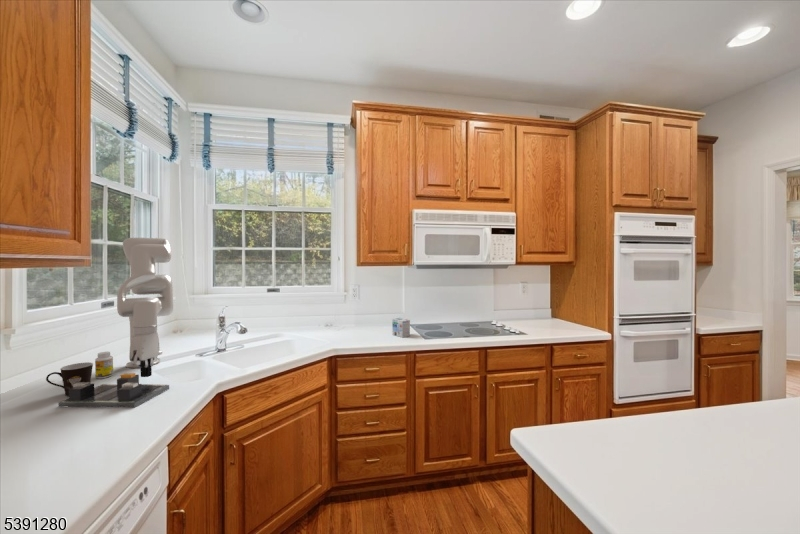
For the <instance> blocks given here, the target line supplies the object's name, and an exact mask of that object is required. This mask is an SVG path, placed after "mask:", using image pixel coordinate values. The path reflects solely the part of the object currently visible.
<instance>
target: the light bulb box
mask: <svg viewBox="0 0 800 534" xmlns="http://www.w3.org/2000/svg"><path fill="white" fill-rule="evenodd" d="M391 329H392V333H391V334H392V336H396V337H400V338H402V339H403V338H407V337H410V336H411V319H408V318H407V319H406V318H402V317H397V318H392V328H391Z"/></svg>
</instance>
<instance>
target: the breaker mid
mask: <svg viewBox="0 0 800 534" xmlns="http://www.w3.org/2000/svg"><path fill="white" fill-rule="evenodd" d="M125 383H138V384H140V375H139V374H136V372H135V373H134V372H133V373H132V372H130V373H129V372H128V373H127V372H126V373H122V374H120V377H119V378H117V379H116V384H117V390H118V389H120V388H122V384H125Z"/></svg>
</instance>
